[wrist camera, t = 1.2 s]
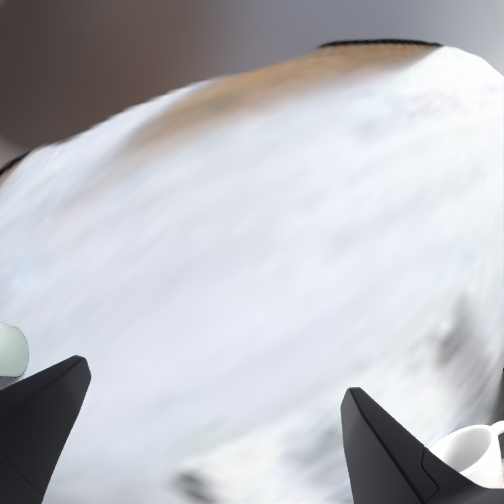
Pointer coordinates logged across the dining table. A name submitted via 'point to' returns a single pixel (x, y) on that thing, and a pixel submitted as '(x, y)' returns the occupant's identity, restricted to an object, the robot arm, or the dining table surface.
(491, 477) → the mug
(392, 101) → the dining table surface
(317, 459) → the dining table surface
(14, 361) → the paper roll
